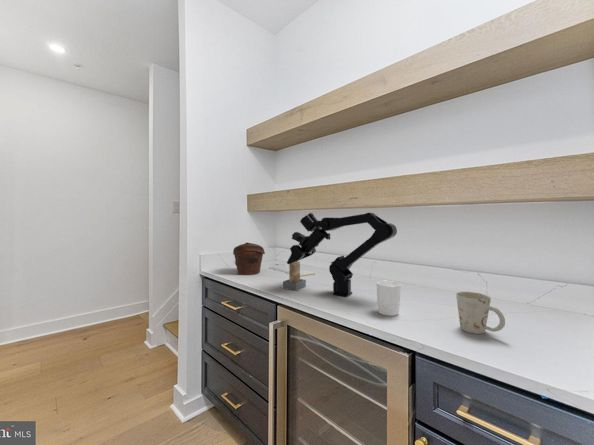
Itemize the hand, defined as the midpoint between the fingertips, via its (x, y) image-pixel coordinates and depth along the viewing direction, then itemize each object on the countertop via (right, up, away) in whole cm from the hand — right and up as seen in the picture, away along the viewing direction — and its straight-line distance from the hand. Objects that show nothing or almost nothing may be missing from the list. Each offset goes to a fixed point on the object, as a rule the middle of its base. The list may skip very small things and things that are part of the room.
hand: (291, 262), depth 128 cm
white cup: (+34, -13, -34) cm, 49 cm away
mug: (+54, -13, -50) cm, 75 cm away
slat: (+1, -11, -1) cm, 11 cm away
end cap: (+1, -12, 0) cm, 12 cm away
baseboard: (-1, -12, +38) cm, 40 cm away
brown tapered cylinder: (-26, -11, +33) cm, 44 cm away
